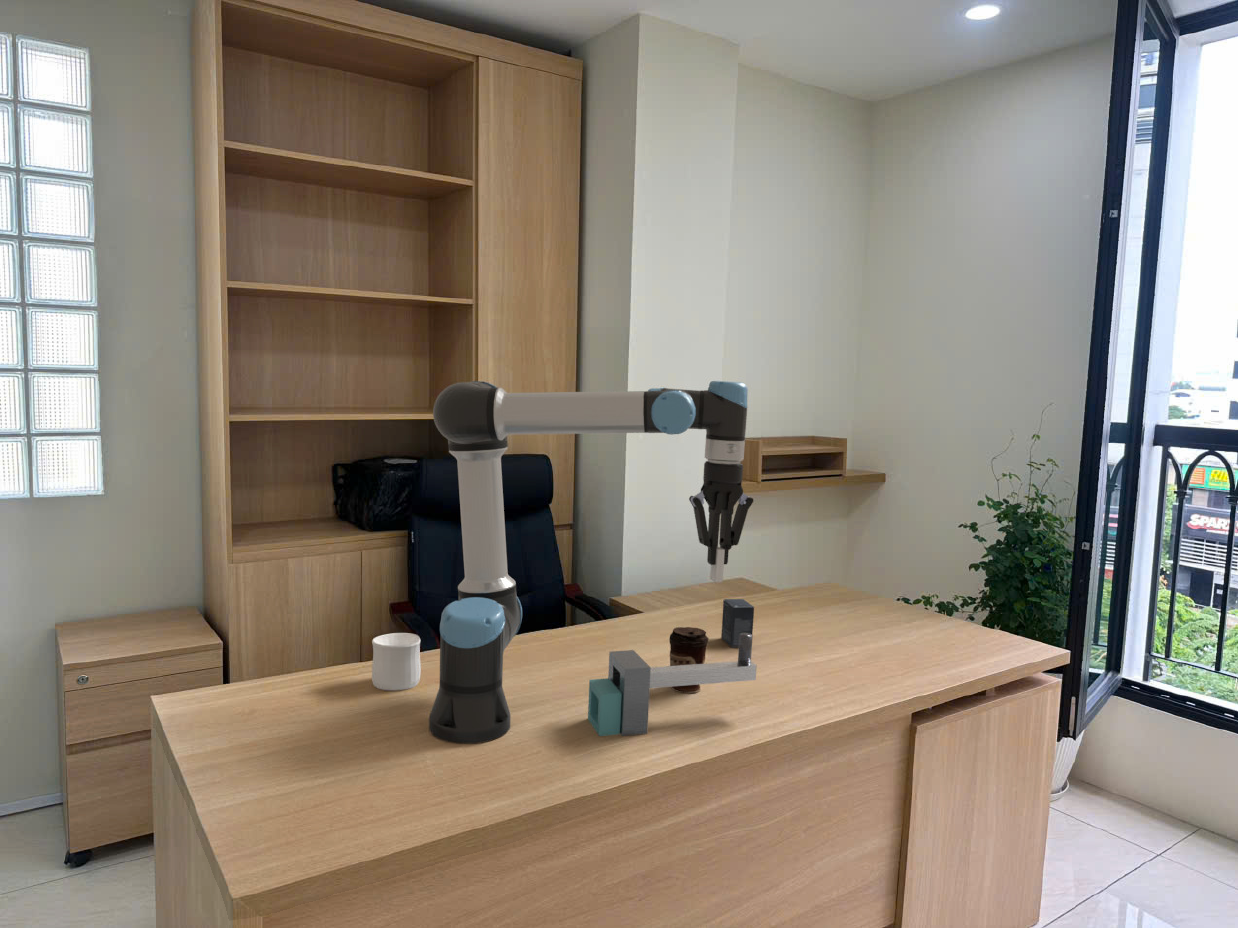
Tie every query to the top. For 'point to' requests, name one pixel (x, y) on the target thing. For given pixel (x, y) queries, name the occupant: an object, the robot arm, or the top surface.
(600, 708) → the spacer
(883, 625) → the top surface
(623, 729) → the bearing block
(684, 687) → the coffee cup
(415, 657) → the cup
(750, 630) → the box
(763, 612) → the top surface
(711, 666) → the shaft
